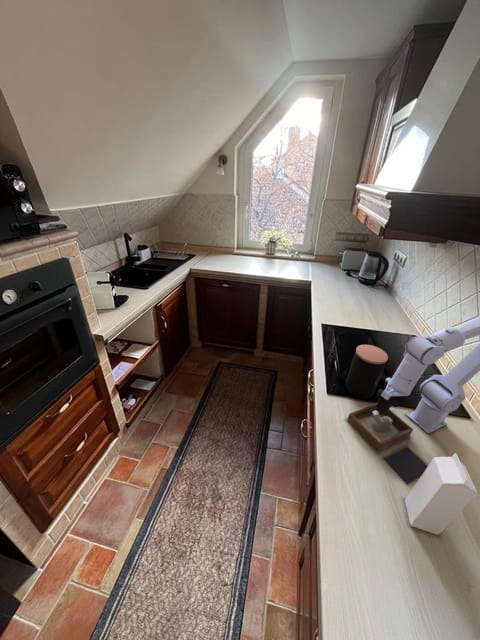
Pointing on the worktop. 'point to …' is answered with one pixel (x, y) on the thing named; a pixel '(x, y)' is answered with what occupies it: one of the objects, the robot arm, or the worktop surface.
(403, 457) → the mat
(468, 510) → the worktop surface
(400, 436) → the brown wooden tray
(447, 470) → the milk
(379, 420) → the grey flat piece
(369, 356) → the coffee jar
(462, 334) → the robot arm
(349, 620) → the worktop surface
